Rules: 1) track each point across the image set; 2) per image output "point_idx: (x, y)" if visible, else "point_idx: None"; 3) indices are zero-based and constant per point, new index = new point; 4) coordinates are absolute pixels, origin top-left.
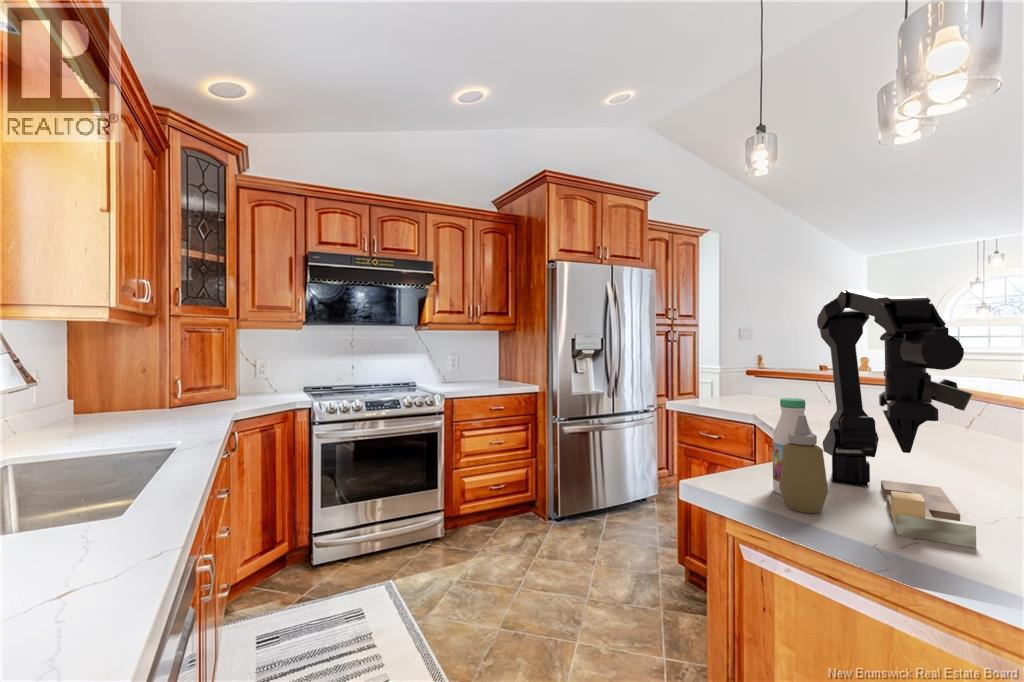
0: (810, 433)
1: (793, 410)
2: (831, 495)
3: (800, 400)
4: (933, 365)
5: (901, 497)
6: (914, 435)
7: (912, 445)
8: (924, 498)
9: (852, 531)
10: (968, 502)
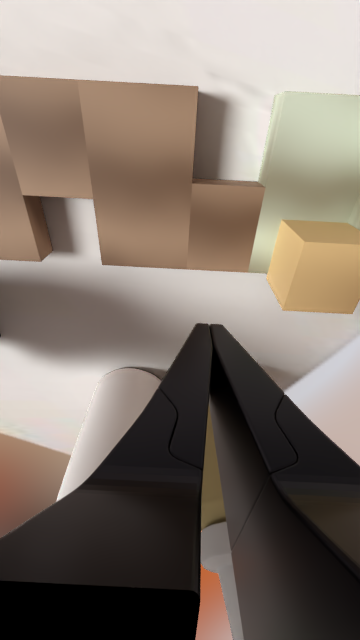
0: (221, 560)
1: None
2: (103, 343)
3: None
4: None
5: (349, 297)
6: (286, 402)
7: (242, 347)
8: (68, 168)
9: (319, 330)
10: None
